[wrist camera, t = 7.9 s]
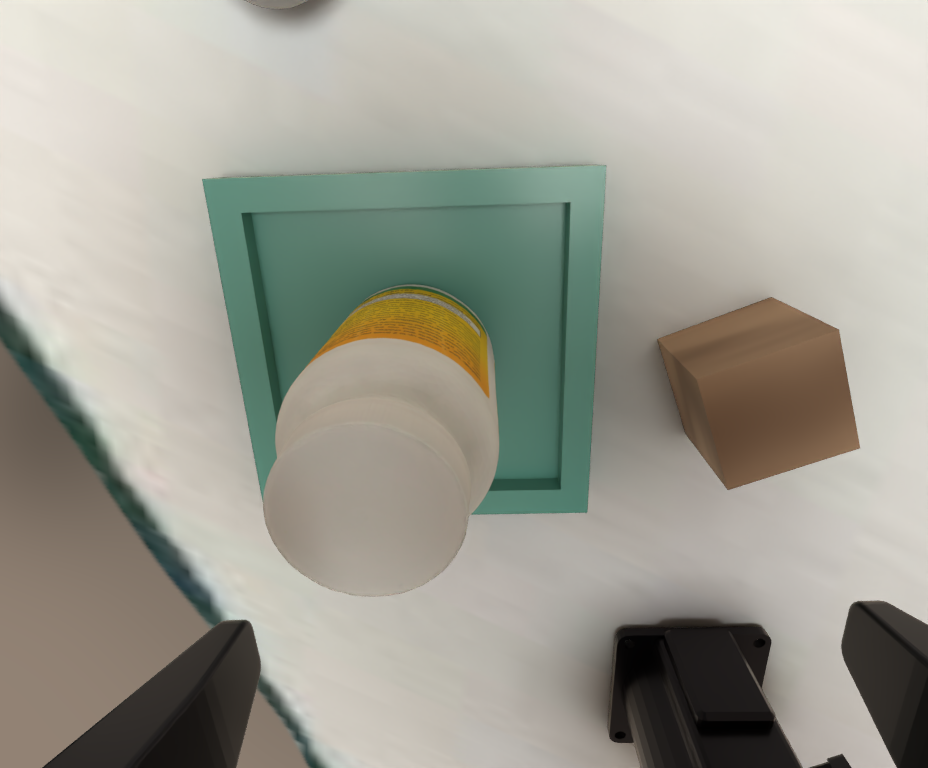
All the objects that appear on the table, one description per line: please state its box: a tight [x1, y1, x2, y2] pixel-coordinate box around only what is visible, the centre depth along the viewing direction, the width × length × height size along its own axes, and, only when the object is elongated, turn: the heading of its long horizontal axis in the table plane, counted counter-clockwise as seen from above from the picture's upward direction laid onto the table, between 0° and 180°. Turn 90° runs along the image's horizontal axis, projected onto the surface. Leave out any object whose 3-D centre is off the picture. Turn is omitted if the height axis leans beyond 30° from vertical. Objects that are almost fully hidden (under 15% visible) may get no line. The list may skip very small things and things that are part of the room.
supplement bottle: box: [263, 284, 499, 596], centre depth 16 cm, size 5×5×10 cm
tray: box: [202, 165, 606, 515], centre depth 20 cm, size 12×12×1 cm
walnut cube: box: [657, 297, 860, 490], centre depth 19 cm, size 4×4×4 cm
